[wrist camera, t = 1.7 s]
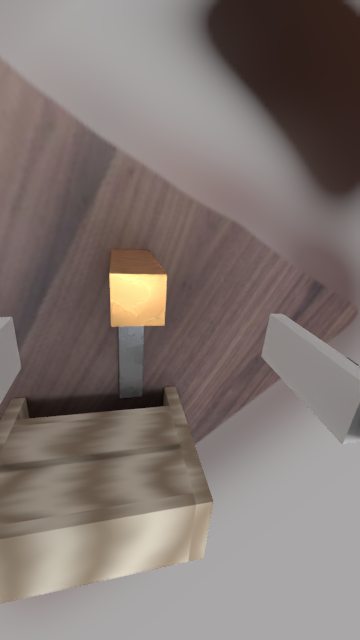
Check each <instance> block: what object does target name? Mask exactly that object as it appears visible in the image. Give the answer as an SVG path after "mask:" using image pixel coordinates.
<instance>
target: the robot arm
mask: <svg viewBox="0 0 360 640" xmlns="http://www.w3.org/2000/svg"><path fill="white" fill-rule="evenodd" d="M261 357H262V358H263V359H264V360H265V361H266V362H267V363H268V364H269V365H270V366H271V368H272V369H273V370H274V371H275V372H276V373H277V374H278V375H279V376H280V377H281V378H282V380H283V381H284V382H285V383H286V384H287V385H288V386H289V387H290V388H291V389H292V390H293V391H294V392H295V394H296V395H297V396H298V397H299V398H300V399H301V400H302V401H303V402H304V403H305V404H306V405H307V407H308V408H309V409H310V410H311V411H312V412H313V413H314V414H315V415H316V416H317V417H318V419H319V420H320V421H321V422H322V423H323V424H324V425H325V426H326V427H327V428H328V429H329V430H330V432H331V433H332V434H333V435H334V436H335V437H336V438H337V439H338V440H339V441H340V442H341V443H342V444H351V443H358V442H360V366H358V364H356V363H355V362H353V361H352V360H350V359H349V358H347V357H345V356H343V355H342V354H340V353H339V352H337V351H336V350H334V349H333V348H332V347H330V346H329V345H327V344H326V343H324V342H323V341H321V340H320V339H318V338H317V337H316V336H314V335H313V334H311V333H310V332H308V331H307V330H305V329H304V328H302V327H301V326H299V325H298V324H297V323H295V322H294V321H292V320H291V319H289V318H288V317H286V316H285V315H283V314H270V318H269V323H268V327H267V332H266V337H265V342H264V346H263V351H262V356H261ZM20 369H21V363H20V358H19V352H18V347H17V341H16V335H15V330H14V324H13V319H12V317H0V404H1V402H2V401H3V399H4V397H5V395H6V394H7V392H8V390H9V388H10V387H11V385H12V383H13V382H14V380H15V378H16V376H17V375H18V373H19V371H20Z"/></svg>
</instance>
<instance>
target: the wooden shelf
mask: <svg viewBox="0 0 360 640" xmlns="http://www.w3.org/2000/svg"><path fill="white" fill-rule="evenodd" d="M212 506H213V499H212V496H211V493H210V490H209V487H208V484H207V481H206V478H205V475H204V472H203V469H202V466H201V463H200V460H199V457H198V454H197V451H196V448H195V444H194V441H193V438H192V435H191V432H190V429H189V426H188V423H187V420H186V417H185V414H184V411H183V408H182V405H181V402H180V399H179V396H178V393H177V390H176V387H175V386H171V387H164V403H163V406H162V407H151V408H140V409H129V410H118V411H107V412H96V413H85V414H74V415H63V416H52V417H41V418H30V419H29V413H28V408H27V402H26V397H25V398H12V399H11V401H10V403H9V405H8V407H7V409H6V411H5V413H4V414H3V416H2V418H1V420H0V604H1V603H6V602H10V601H15V600H19V599H23V598H28V597H32V596H37V595H41V594H46V593H50V592H54V591H59V590H64V589H68V588H72V587H77V586H81V585H86V584H90V583H94V582H99V581H104V580H108V579H112V578H117V577H121V576H126V575H130V574H134V573H139V572H144V571H148V570H153V569H157V568H161V567H166V566H170V565H174V564H179V563H184V562H188V561H193V560H197V559H201V558H204V552H205V547H206V541H207V535H208V529H209V524H210V518H211V512H212Z"/></svg>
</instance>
